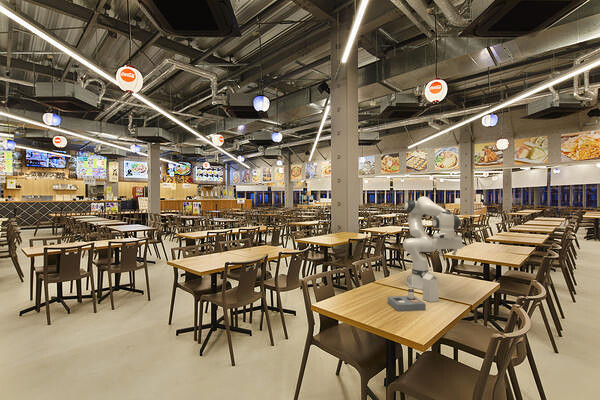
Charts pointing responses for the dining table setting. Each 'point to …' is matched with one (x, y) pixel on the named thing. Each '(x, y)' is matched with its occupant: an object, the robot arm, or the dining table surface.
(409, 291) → the plug
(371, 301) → the dining table surface
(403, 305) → the socket board
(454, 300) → the dining table surface
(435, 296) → the milk carton
